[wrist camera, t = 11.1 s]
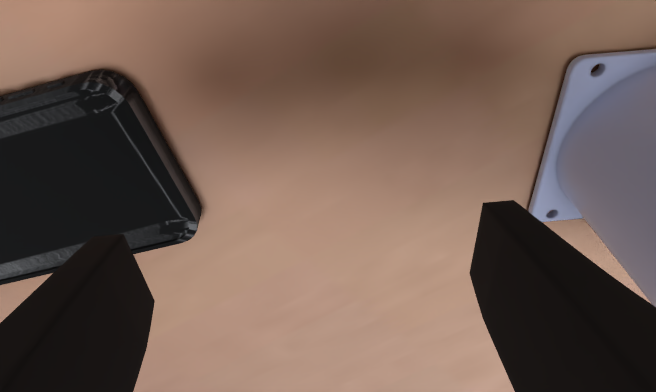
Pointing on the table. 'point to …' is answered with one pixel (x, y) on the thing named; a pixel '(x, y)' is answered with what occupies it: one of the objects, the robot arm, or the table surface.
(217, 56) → the table surface
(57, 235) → the phone
